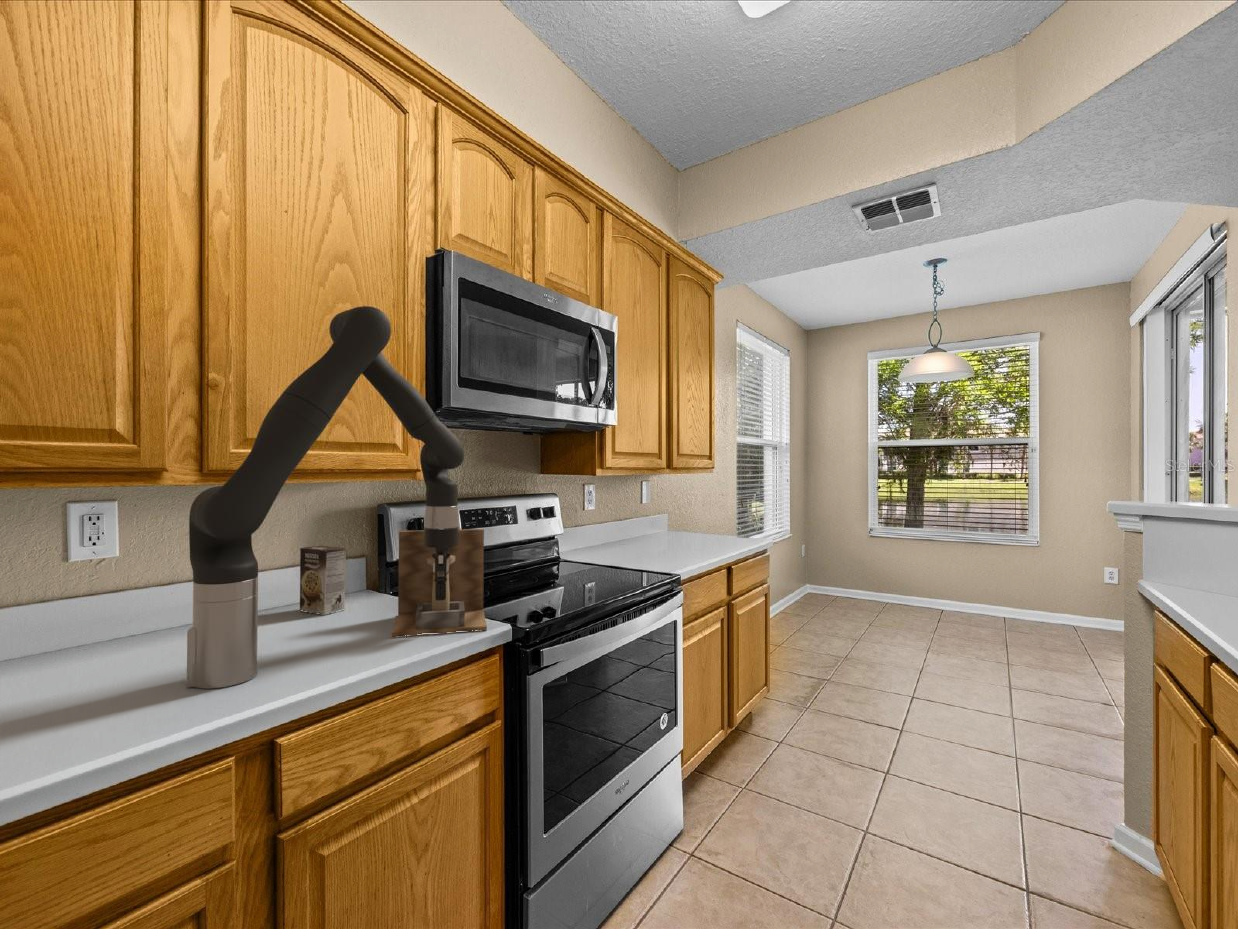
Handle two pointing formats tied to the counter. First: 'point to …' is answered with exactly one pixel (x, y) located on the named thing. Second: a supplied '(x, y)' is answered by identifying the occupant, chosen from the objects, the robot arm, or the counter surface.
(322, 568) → the coffee box
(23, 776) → the counter surface
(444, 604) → the handle
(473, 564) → the board
